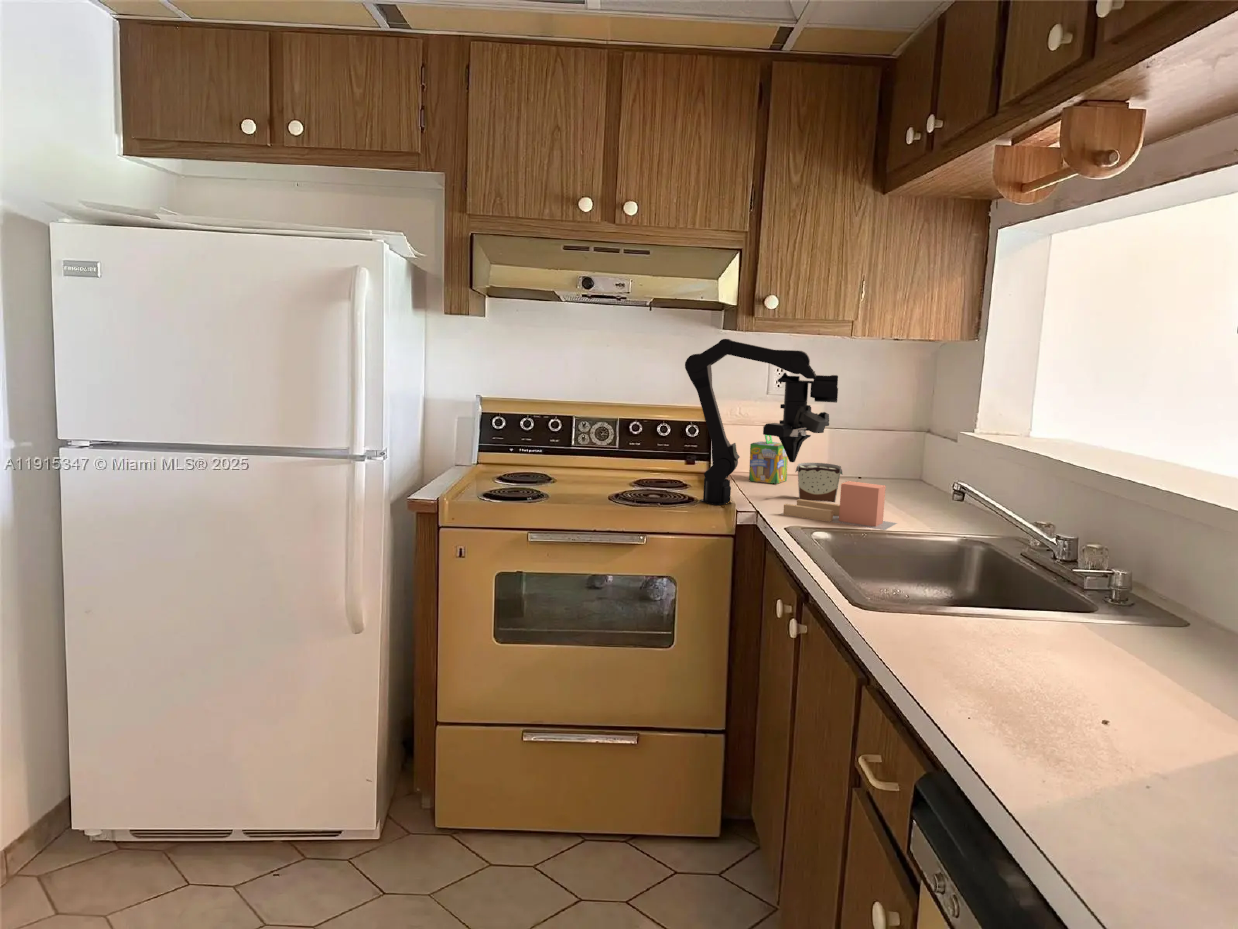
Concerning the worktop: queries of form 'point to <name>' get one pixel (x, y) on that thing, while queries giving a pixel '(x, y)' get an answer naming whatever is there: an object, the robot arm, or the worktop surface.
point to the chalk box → (768, 462)
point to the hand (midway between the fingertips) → (792, 462)
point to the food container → (818, 481)
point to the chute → (823, 513)
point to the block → (862, 503)
